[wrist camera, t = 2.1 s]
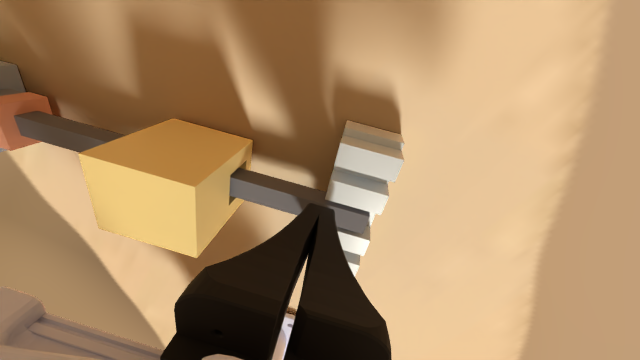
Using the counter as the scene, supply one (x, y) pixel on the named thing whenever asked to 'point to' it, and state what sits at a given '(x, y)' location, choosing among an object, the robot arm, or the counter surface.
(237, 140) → the sleeve
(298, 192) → the red-tipped gray rod
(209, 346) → the robot arm
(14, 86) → the block
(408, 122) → the counter surface
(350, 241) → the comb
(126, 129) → the counter surface
